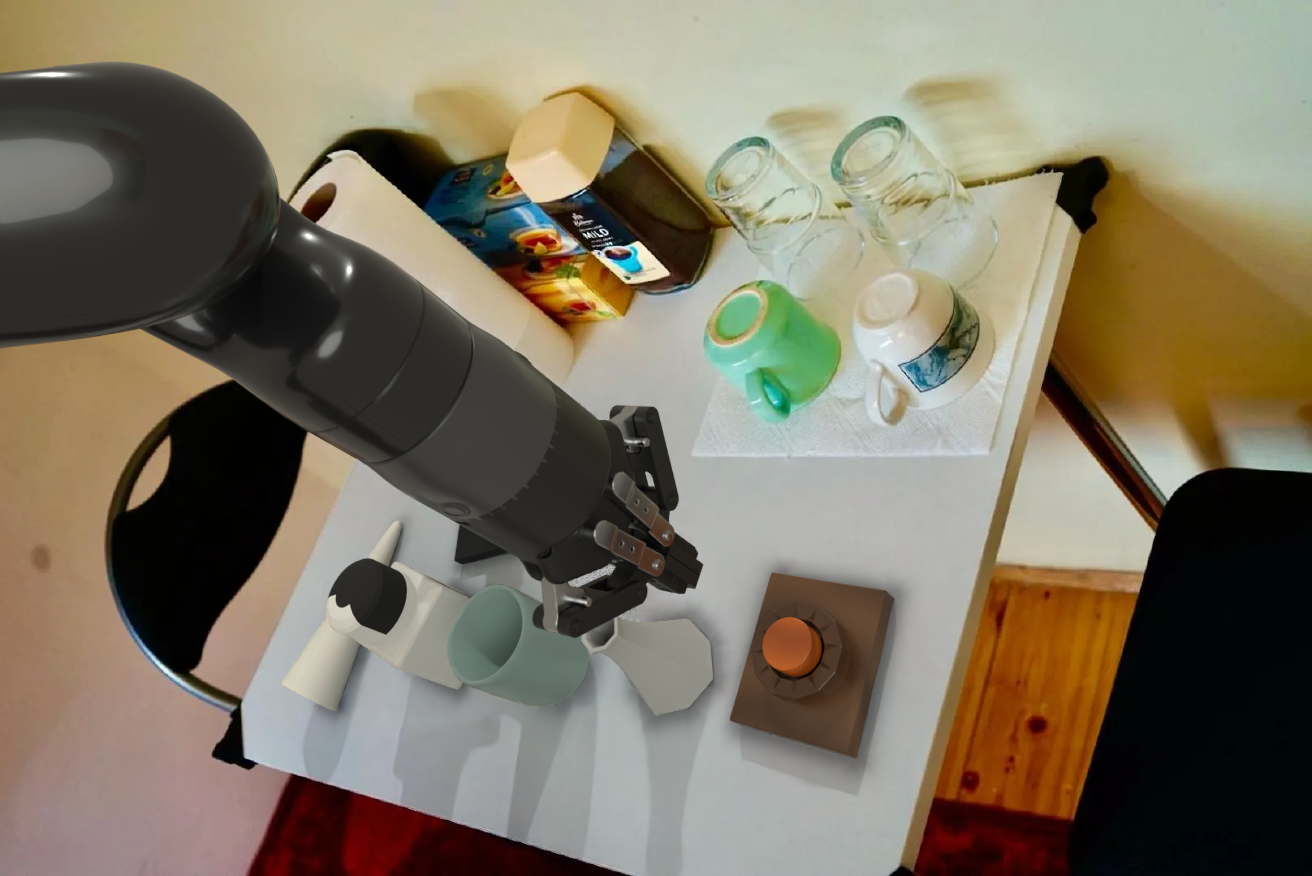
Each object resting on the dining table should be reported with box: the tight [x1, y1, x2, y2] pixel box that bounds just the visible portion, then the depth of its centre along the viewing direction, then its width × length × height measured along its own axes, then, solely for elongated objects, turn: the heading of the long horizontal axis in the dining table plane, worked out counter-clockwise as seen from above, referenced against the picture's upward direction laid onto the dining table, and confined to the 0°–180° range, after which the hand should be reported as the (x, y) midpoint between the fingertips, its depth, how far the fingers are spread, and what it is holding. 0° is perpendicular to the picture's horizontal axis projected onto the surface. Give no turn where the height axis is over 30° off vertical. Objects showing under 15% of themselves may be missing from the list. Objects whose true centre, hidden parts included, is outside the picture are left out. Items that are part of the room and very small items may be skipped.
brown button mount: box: [729, 572, 895, 760], centre depth 61 cm, size 11×9×4 cm
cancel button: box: [762, 617, 822, 677], centre depth 60 cm, size 4×4×2 cm
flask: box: [581, 616, 714, 717], centre depth 65 cm, size 7×7×10 cm
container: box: [325, 557, 472, 690], centre depth 79 cm, size 8×8×13 cm
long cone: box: [280, 520, 402, 712], centre depth 90 cm, size 6×6×19 cm
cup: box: [447, 583, 590, 707], centre depth 71 cm, size 8×8×10 cm
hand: (686, 575), depth 51 cm, fingers closed
